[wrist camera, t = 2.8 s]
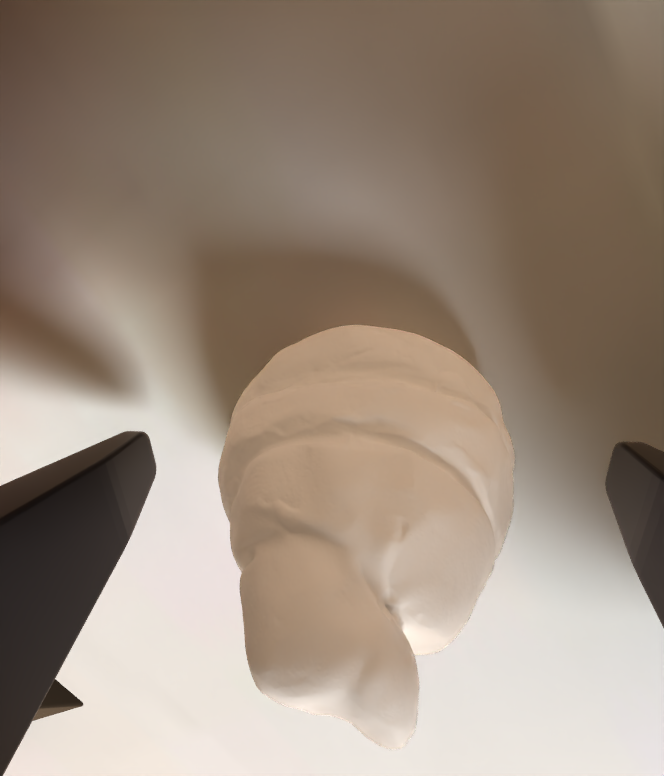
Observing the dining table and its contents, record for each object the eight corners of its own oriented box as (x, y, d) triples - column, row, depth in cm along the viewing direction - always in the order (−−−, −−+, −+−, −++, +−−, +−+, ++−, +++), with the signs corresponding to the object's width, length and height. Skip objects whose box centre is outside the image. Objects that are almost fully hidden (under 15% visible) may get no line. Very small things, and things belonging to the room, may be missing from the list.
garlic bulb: (101, 774, 6) (95, 445, 4) (233, 490, 12) (267, 275, 9) (497, 872, 6) (746, 606, 4) (448, 543, 12) (540, 343, 9)
